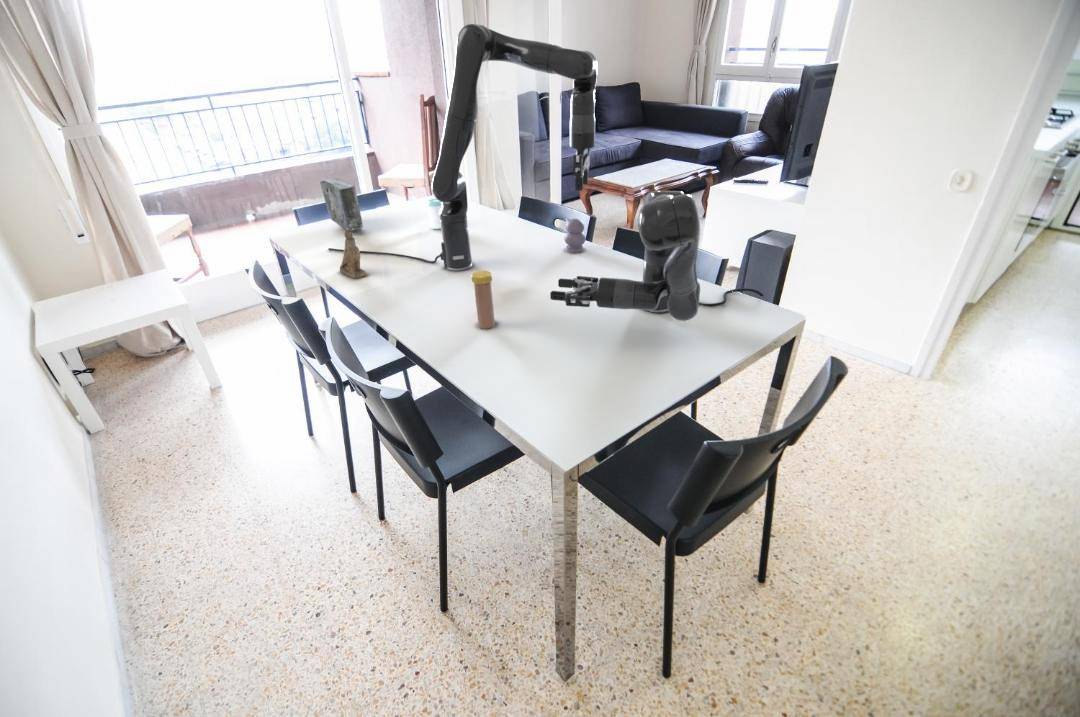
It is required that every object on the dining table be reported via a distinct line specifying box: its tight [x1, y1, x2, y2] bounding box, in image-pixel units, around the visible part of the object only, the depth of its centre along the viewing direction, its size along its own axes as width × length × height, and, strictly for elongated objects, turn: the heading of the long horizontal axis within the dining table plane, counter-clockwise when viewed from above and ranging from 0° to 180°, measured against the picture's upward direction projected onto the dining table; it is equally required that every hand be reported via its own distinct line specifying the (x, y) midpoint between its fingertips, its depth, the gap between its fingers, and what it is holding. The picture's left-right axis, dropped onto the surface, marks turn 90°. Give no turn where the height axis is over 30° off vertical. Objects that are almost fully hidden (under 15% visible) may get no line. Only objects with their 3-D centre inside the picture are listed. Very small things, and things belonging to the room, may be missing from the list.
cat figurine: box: [563, 217, 587, 254], centre depth 188 cm, size 8×8×12 cm
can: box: [426, 198, 443, 230], centre depth 220 cm, size 7×7×12 cm
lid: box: [471, 270, 493, 284], centre depth 133 cm, size 5×5×2 cm
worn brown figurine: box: [339, 230, 367, 280], centre depth 174 cm, size 12×6×18 cm, turn 43°
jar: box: [473, 281, 496, 330], centre depth 137 cm, size 5×5×15 cm
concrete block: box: [319, 177, 364, 232], centre depth 222 cm, size 27×9×20 cm, turn 36°
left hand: (581, 186), depth 155 cm, fingers open, 8 cm apart
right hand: (554, 288), depth 129 cm, fingers open, 8 cm apart
